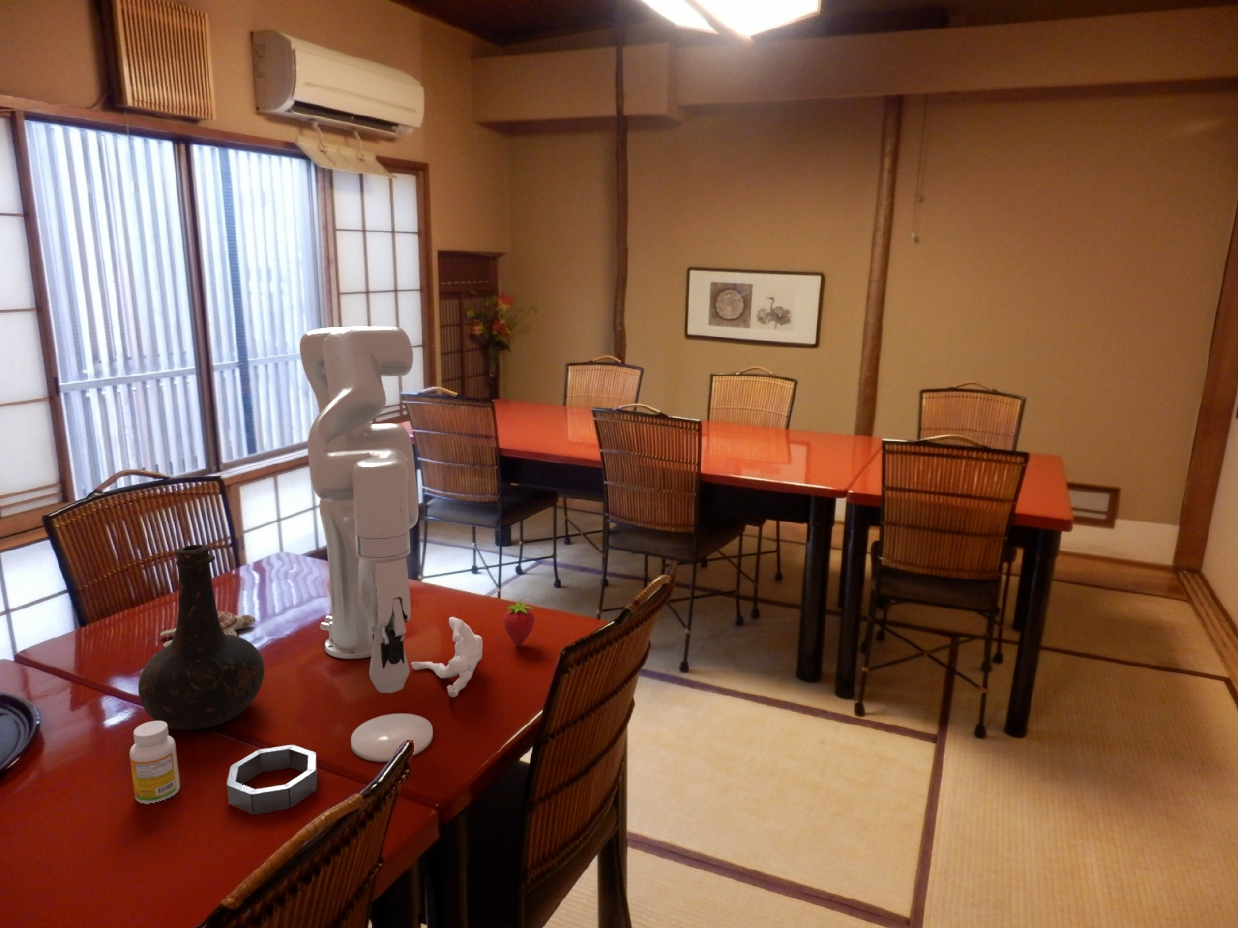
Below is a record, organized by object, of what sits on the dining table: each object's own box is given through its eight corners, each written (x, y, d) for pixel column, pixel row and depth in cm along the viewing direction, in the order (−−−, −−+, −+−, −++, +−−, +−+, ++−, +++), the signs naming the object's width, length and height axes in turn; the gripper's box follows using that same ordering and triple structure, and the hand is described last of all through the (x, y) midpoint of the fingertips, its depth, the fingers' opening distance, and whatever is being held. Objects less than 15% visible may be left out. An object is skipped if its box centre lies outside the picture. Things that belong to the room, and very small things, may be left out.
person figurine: (412, 607, 149) (456, 623, 135) (476, 607, 157) (523, 623, 143) (405, 680, 149) (448, 704, 134) (469, 677, 156) (516, 699, 142)
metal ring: (212, 798, 111) (210, 778, 111) (277, 757, 121) (276, 738, 120) (270, 821, 107) (269, 801, 106) (334, 777, 116) (332, 758, 116)
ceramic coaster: (333, 748, 123) (333, 742, 123) (388, 712, 134) (388, 706, 134) (396, 769, 118) (396, 763, 118) (448, 730, 129) (448, 724, 129)
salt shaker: (417, 686, 124) (414, 604, 122) (384, 700, 120) (380, 615, 117) (395, 674, 128) (391, 595, 125) (362, 687, 124) (358, 605, 121)
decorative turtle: (265, 644, 159) (263, 620, 158) (167, 665, 150) (165, 639, 149) (247, 613, 174) (245, 590, 173) (157, 630, 165) (154, 606, 164)
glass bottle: (141, 757, 121) (119, 575, 115) (145, 702, 136) (125, 539, 130) (272, 728, 129) (258, 557, 123) (262, 680, 144) (249, 526, 138)
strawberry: (535, 637, 163) (534, 589, 161) (534, 654, 156) (533, 604, 154) (505, 638, 163) (504, 590, 160) (502, 655, 155) (501, 604, 153)
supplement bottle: (146, 781, 115) (139, 718, 113) (187, 780, 115) (180, 716, 113) (127, 805, 109) (119, 739, 107) (169, 804, 110) (162, 738, 108)
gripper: (340, 533, 124) (347, 647, 128) (375, 563, 111) (382, 690, 115) (389, 526, 128) (394, 637, 132) (429, 554, 115) (433, 676, 119)
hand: (388, 660), depth 123 cm, fingers closed on salt shaker, 3 cm apart
